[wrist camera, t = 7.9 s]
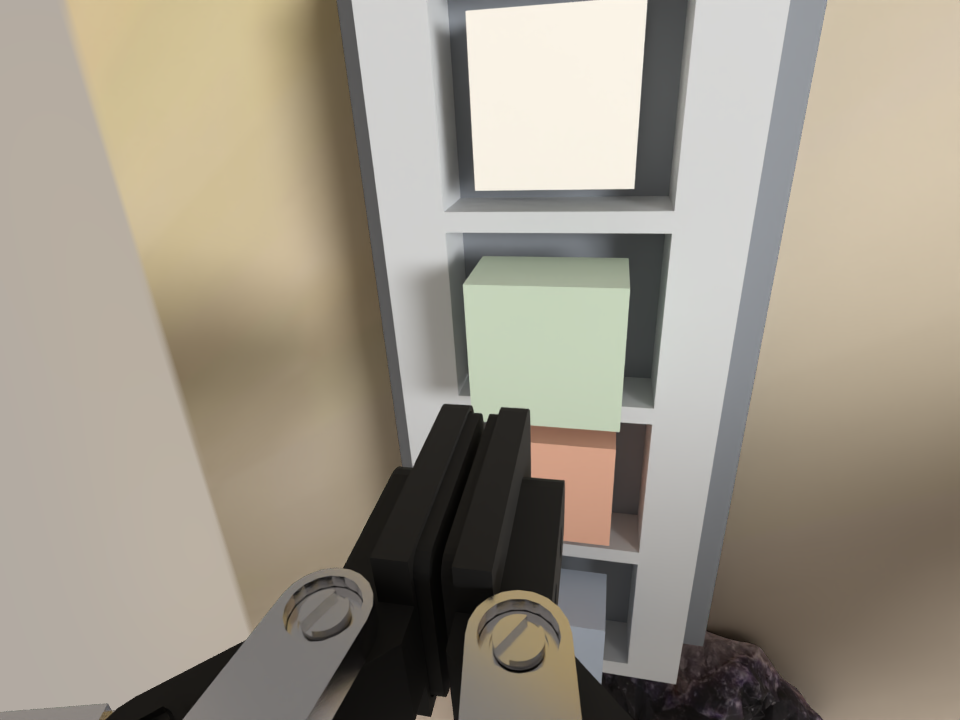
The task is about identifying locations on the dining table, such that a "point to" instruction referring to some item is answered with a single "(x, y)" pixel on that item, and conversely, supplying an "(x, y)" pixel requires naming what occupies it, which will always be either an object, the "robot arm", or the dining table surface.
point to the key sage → (548, 338)
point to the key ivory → (556, 94)
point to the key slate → (585, 615)
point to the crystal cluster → (713, 687)
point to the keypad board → (602, 234)
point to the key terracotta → (579, 477)
